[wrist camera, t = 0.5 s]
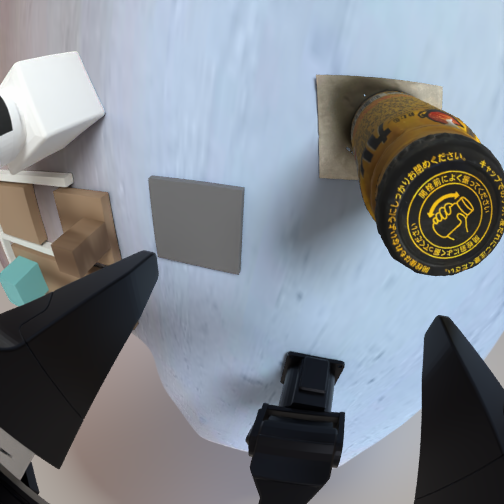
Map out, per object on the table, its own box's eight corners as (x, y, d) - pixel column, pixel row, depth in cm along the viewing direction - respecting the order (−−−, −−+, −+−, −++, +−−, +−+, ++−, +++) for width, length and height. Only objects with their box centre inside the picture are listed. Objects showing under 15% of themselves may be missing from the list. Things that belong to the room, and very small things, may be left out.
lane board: (111, 318, 38) (106, 325, 37) (23, 281, 42) (18, 286, 41) (71, 173, 26) (62, 179, 25) (-15, 169, 30) (-23, 173, 28)
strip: (138, 323, 36) (114, 359, 32) (32, 281, 40) (9, 305, 35) (125, 275, 32) (94, 313, 27) (16, 241, 36) (-12, 265, 31)
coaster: (240, 270, 27) (238, 274, 27) (160, 253, 29) (157, 256, 28) (244, 187, 23) (242, 190, 22) (152, 175, 24) (148, 178, 24)
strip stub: (121, 260, 31) (88, 298, 26) (76, 248, 32) (43, 280, 27) (108, 192, 26) (64, 226, 21) (60, 186, 27) (19, 215, 22)
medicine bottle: (38, 91, 22) (-60, 132, 12) (78, 49, 19) (-41, 77, 9) (64, 148, 25) (-31, 206, 15) (107, 113, 22) (-9, 167, 12)
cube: (48, 289, 37) (28, 312, 33) (29, 281, 38) (10, 301, 34) (37, 262, 34) (14, 285, 30) (19, 255, 35) (-3, 275, 31)
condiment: (433, 186, 19) (497, 301, 9) (319, 177, 21) (299, 289, 11) (441, 86, 15) (547, 123, 5) (316, 74, 17) (292, 82, 7)
